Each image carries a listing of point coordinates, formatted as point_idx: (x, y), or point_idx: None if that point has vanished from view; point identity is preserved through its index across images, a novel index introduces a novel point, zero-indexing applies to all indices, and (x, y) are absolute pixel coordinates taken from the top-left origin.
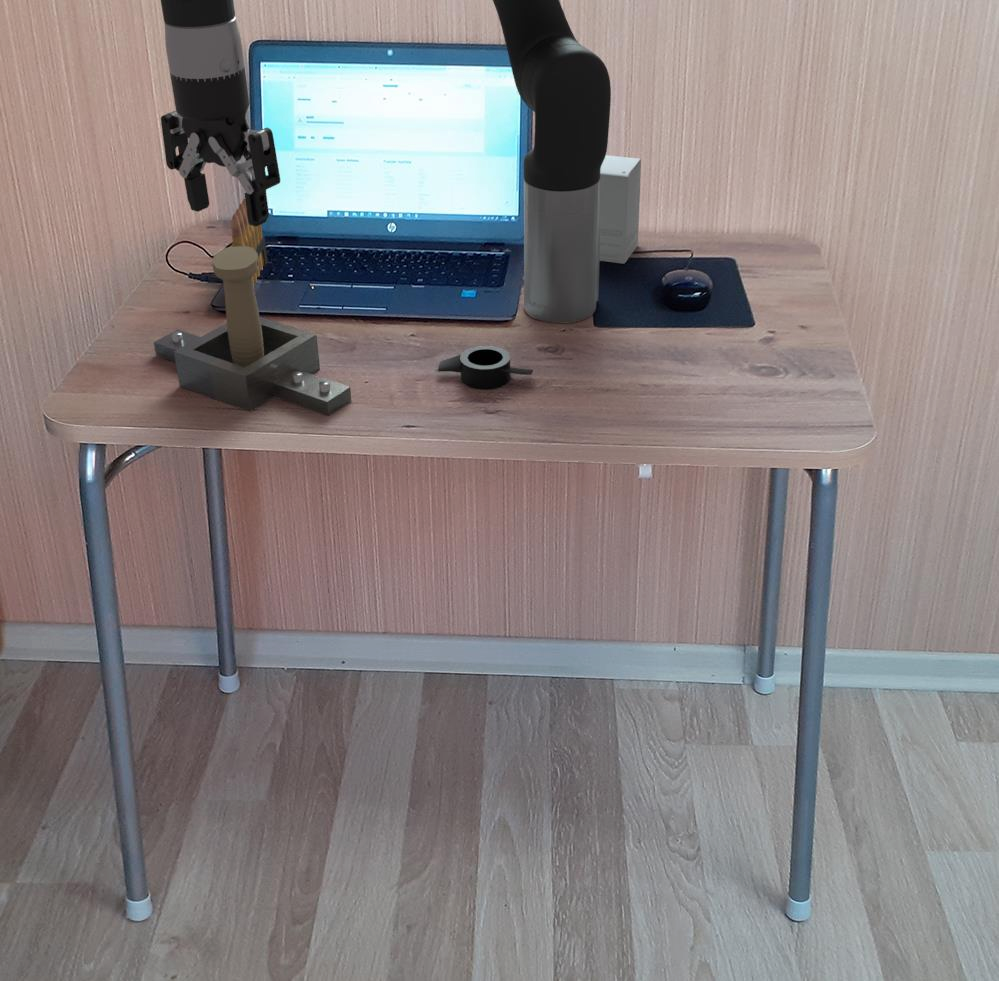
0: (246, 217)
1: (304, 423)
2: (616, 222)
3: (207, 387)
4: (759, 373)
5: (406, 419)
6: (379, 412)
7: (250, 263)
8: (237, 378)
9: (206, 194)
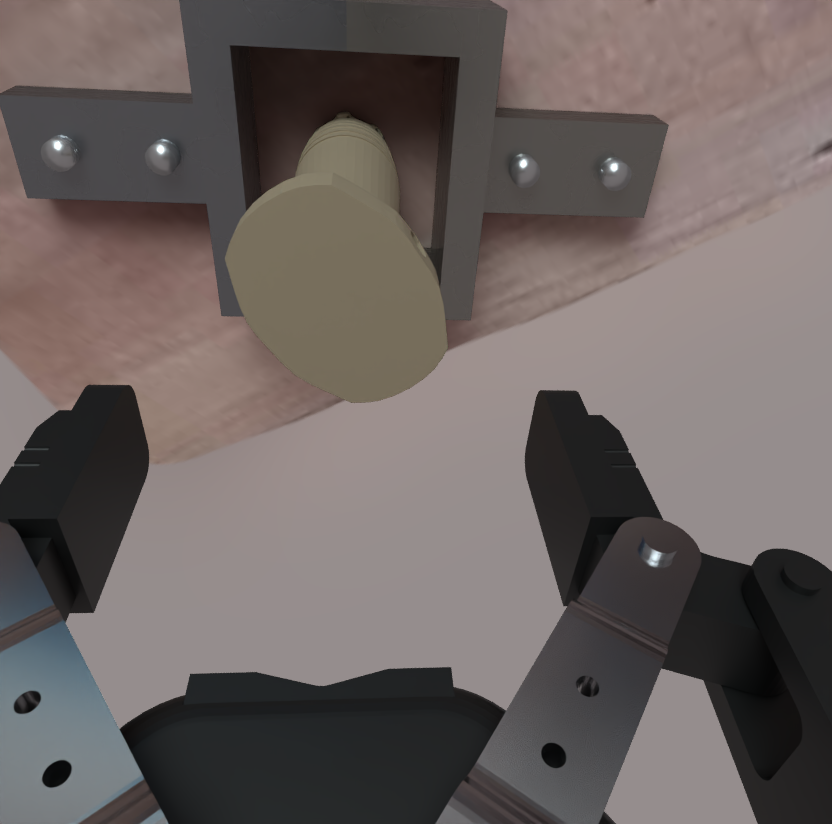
0: None
1: (593, 254)
2: None
3: None
4: None
5: (817, 120)
6: (741, 126)
7: (437, 315)
8: None
9: (108, 431)
